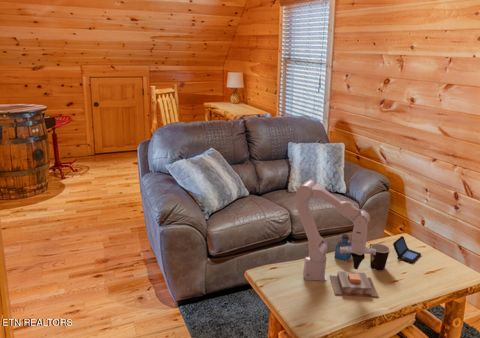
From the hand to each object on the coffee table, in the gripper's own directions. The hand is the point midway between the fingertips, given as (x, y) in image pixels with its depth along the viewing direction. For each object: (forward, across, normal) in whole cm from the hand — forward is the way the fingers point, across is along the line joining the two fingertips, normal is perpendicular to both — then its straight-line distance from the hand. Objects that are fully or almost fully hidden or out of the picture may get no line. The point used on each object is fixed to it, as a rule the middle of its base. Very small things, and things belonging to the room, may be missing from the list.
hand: (355, 268), depth 174 cm
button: (+7, 0, 0) cm, 7 cm away
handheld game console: (+10, +32, +30) cm, 45 cm away
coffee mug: (+9, +15, +19) cm, 26 cm away
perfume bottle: (+9, 0, +25) cm, 27 cm away
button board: (+9, 0, 0) cm, 9 cm away
